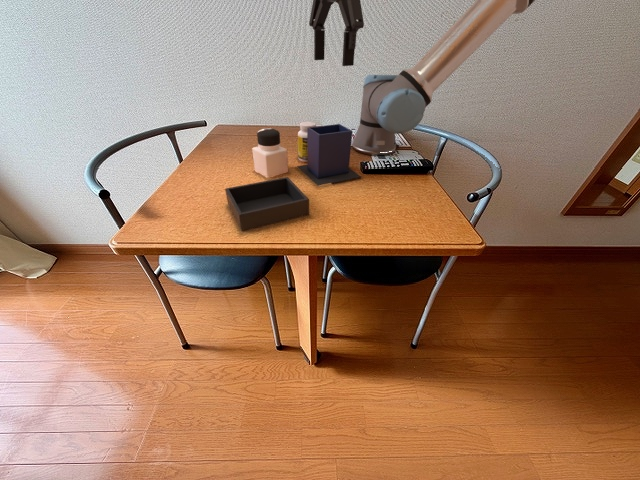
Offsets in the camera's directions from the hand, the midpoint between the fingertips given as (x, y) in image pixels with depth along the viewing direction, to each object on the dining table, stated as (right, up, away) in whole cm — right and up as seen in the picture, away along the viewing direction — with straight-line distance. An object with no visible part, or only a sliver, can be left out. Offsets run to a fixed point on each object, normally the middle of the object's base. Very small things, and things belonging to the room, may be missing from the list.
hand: (332, 62), depth 73 cm
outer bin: (-15, -38, -6) cm, 42 cm away
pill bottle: (-7, -19, +20) cm, 28 cm away
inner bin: (-1, -25, +11) cm, 27 cm away
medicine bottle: (-17, -26, +11) cm, 33 cm away
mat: (-1, -25, +11) cm, 28 cm away
